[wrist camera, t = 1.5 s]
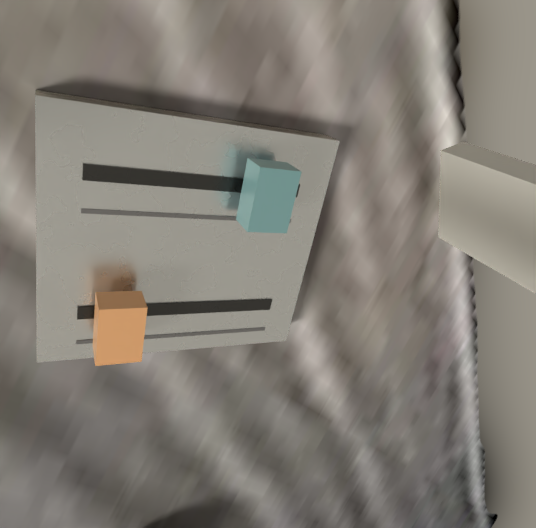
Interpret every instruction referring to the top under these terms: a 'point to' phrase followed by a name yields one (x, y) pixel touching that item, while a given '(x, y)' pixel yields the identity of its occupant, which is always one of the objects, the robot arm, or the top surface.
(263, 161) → the fader
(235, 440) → the top surface
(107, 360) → the fader
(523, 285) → the robot arm
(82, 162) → the console
